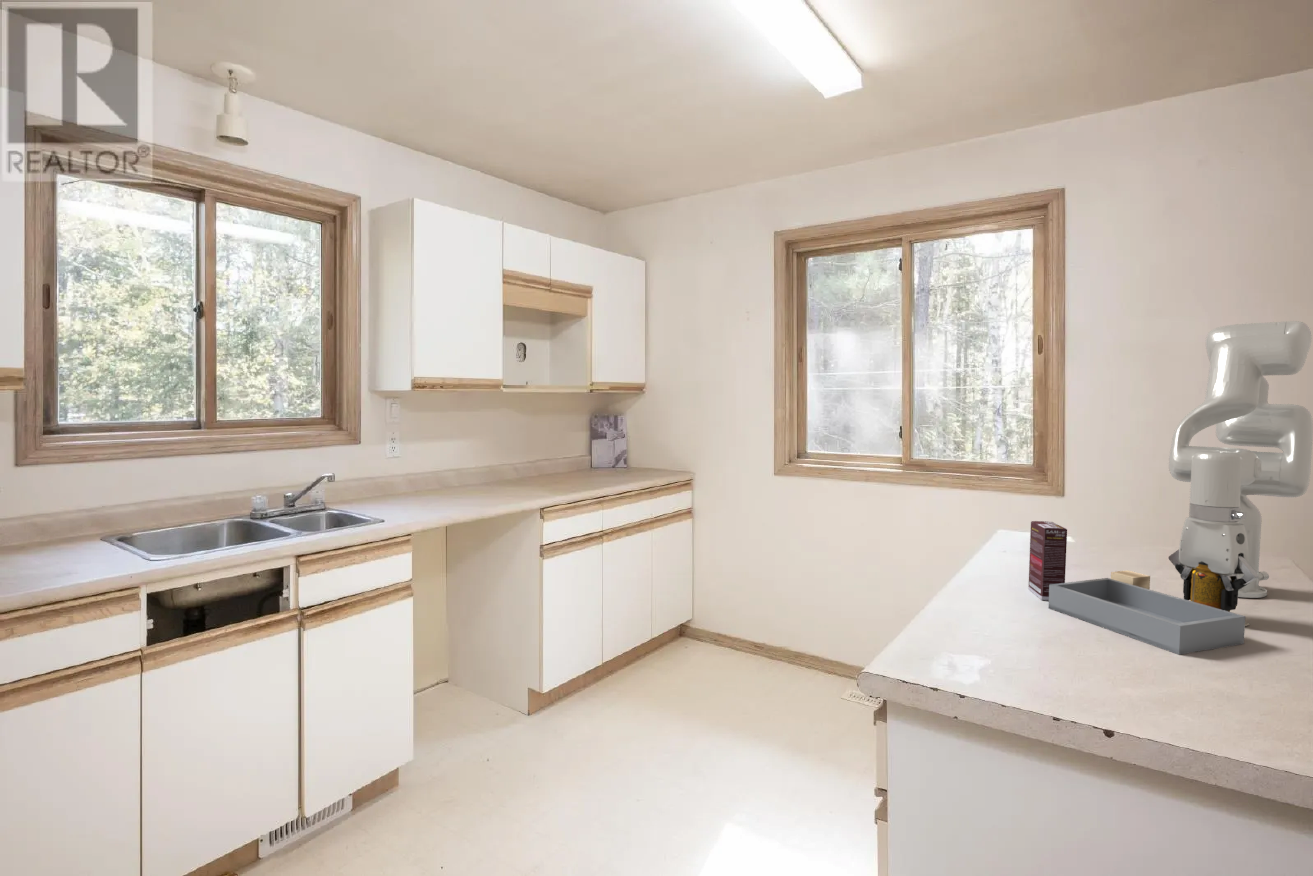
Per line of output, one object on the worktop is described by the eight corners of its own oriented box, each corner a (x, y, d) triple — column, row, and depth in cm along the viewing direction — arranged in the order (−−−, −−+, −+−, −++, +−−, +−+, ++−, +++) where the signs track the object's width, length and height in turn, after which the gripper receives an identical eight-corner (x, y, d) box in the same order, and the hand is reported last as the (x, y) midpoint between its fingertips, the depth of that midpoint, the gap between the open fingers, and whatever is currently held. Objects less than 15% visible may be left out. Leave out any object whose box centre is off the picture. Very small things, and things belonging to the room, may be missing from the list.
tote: (1106, 600, 143) (1107, 577, 143) (1243, 643, 119) (1245, 616, 118) (1048, 608, 139) (1049, 584, 138) (1178, 654, 114) (1180, 626, 113)
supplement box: (1065, 602, 143) (1068, 528, 142) (1041, 600, 144) (1043, 528, 143) (1050, 590, 151) (1052, 521, 150) (1027, 589, 152) (1029, 520, 151)
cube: (1126, 592, 150) (1127, 570, 149) (1149, 598, 145) (1150, 576, 145) (1110, 594, 148) (1111, 572, 148) (1132, 600, 144) (1133, 578, 143)
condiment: (1201, 611, 136) (1204, 554, 135) (1250, 625, 128) (1254, 563, 127) (1178, 616, 133) (1181, 557, 132) (1227, 630, 125) (1230, 567, 125)
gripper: (1279, 520, 123) (1273, 616, 124) (1181, 505, 139) (1177, 590, 141) (1251, 523, 121) (1245, 620, 122) (1155, 507, 137) (1151, 593, 138)
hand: (1209, 603), depth 131 cm, fingers closed on condiment, 6 cm apart
